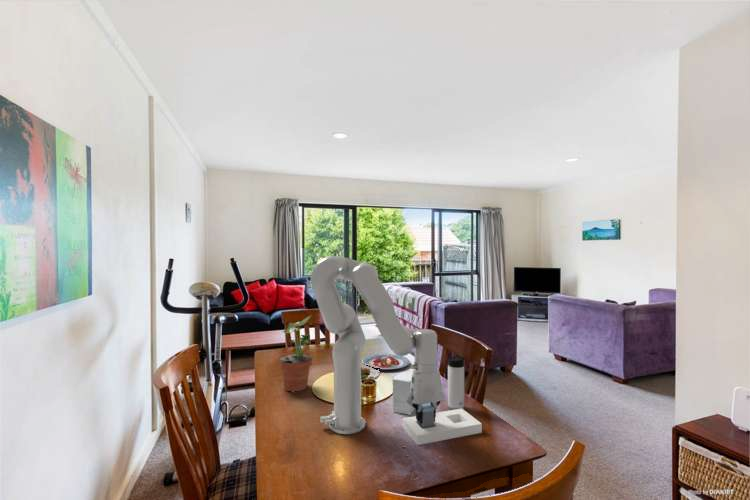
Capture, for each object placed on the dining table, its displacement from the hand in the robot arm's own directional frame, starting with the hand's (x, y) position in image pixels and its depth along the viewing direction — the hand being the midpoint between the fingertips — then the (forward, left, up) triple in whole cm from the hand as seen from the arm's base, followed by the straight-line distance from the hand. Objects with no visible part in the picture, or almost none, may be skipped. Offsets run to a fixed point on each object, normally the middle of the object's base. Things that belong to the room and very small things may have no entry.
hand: (425, 420), depth 117 cm
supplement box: (0, +18, -4) cm, 19 cm away
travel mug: (+20, +13, -4) cm, 24 cm away
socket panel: (+6, 0, -4) cm, 7 cm away
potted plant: (-38, +54, -4) cm, 66 cm away
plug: (0, 0, -4) cm, 4 cm away
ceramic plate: (+12, +71, -5) cm, 72 cm away
